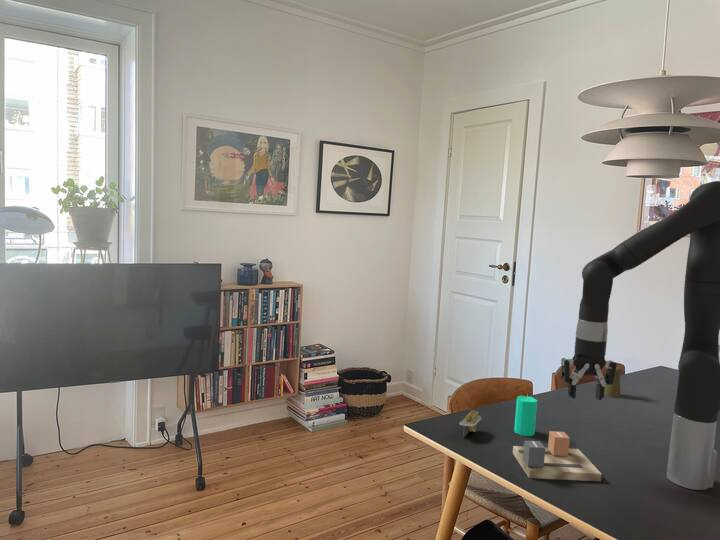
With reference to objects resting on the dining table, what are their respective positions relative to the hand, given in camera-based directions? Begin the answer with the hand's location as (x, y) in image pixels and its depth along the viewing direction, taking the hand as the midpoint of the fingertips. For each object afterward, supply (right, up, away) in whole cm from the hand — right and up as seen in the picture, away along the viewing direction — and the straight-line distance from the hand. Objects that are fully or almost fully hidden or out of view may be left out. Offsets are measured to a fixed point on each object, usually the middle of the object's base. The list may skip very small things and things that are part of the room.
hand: (585, 398), depth 141 cm
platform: (-27, -15, +17) cm, 35 cm away
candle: (-10, -15, +20) cm, 27 cm away
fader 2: (-7, -15, +2) cm, 16 cm away
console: (-9, -17, -2) cm, 20 cm away
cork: (+36, -14, +60) cm, 71 cm away
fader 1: (-16, -15, -6) cm, 23 cm away
